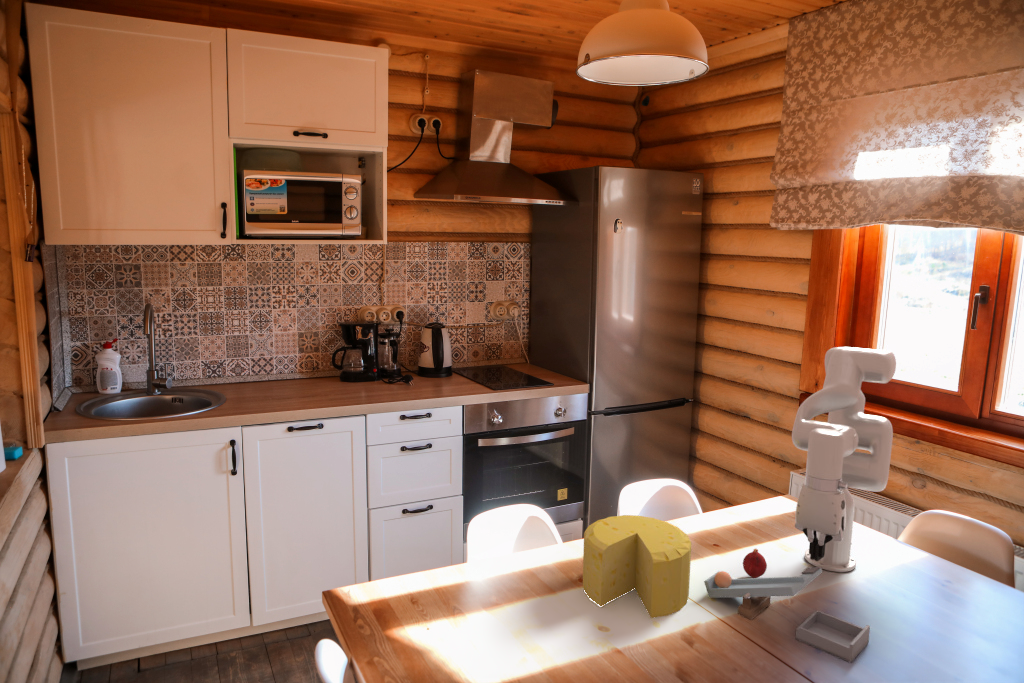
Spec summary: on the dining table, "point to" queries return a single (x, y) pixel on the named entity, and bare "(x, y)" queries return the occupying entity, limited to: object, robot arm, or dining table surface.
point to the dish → (833, 635)
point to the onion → (754, 564)
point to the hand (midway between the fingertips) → (816, 558)
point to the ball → (723, 579)
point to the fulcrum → (753, 606)
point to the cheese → (637, 562)
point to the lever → (763, 585)
